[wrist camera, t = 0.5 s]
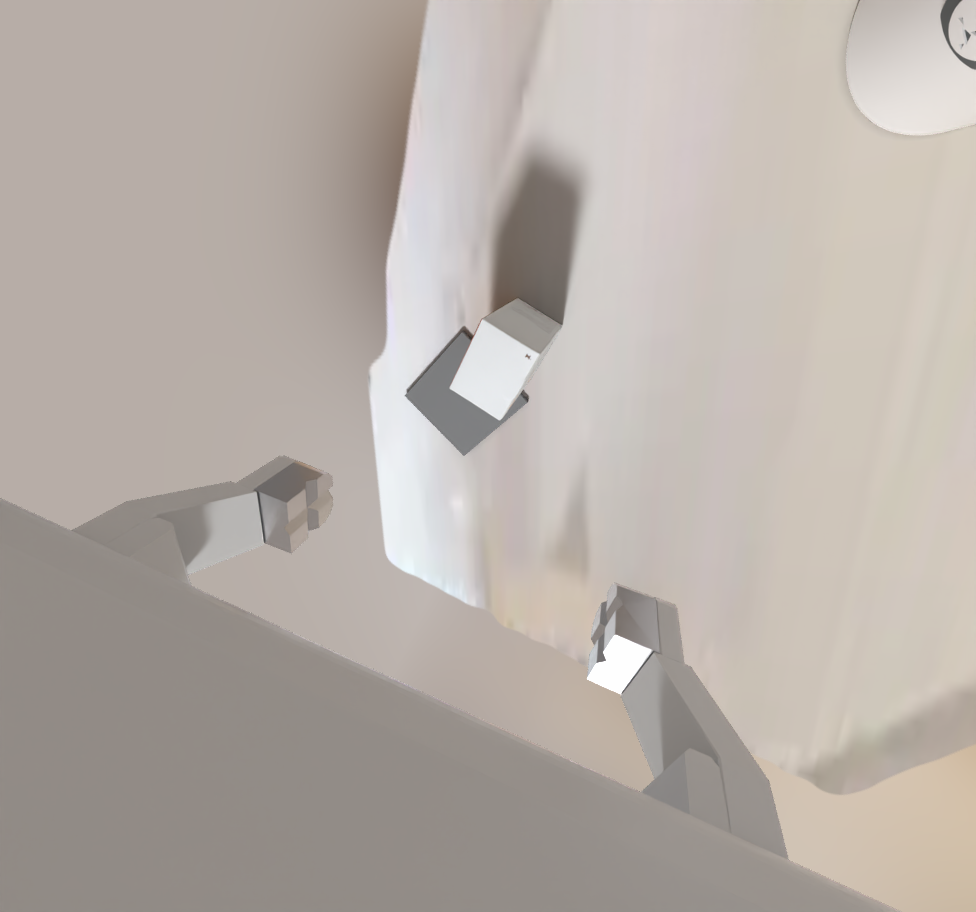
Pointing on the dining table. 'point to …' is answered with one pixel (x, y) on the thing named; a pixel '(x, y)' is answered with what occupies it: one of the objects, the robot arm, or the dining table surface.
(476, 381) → the small box
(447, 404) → the mat
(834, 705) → the dining table surface
